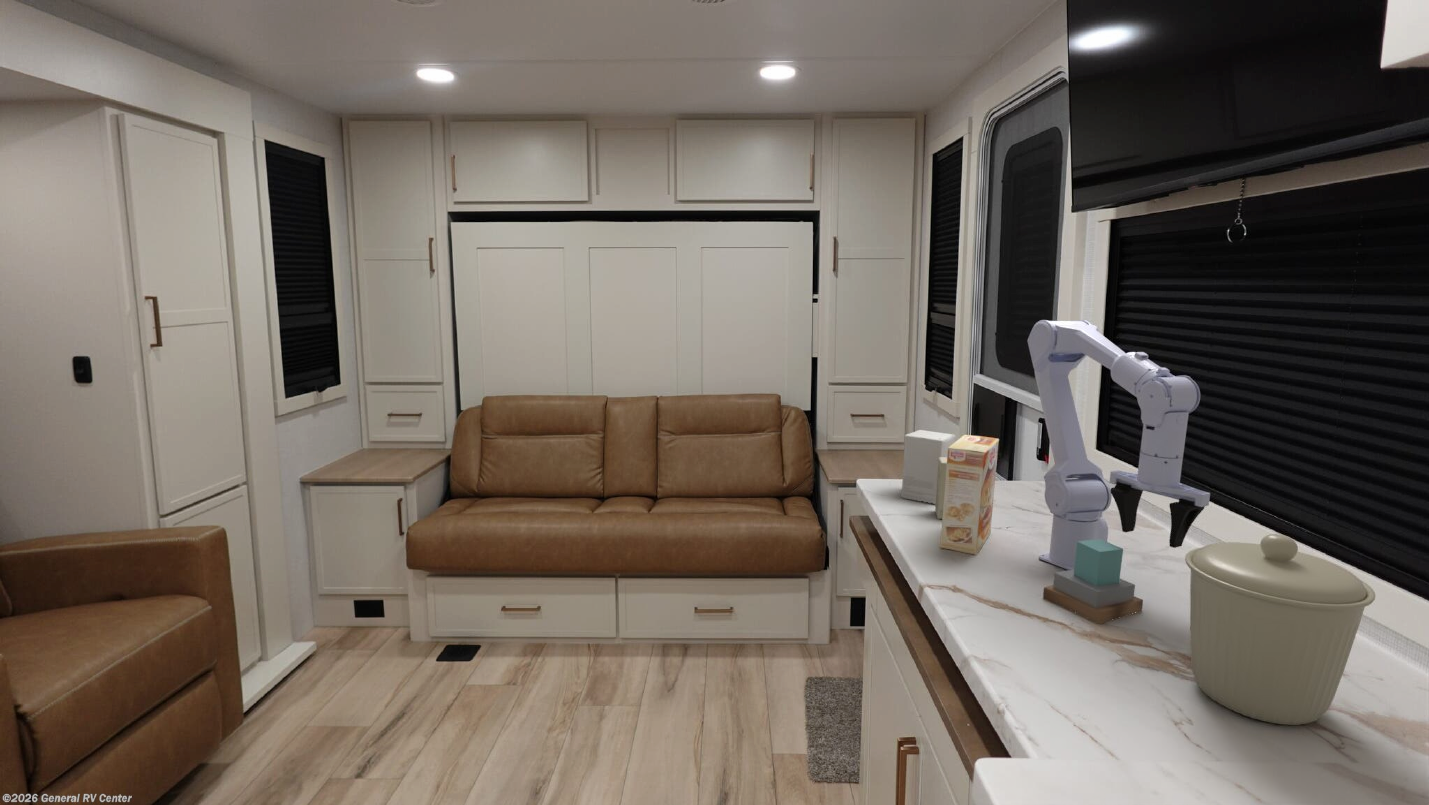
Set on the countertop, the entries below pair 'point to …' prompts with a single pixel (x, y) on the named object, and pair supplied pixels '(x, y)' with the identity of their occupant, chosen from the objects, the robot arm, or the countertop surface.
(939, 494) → the skincare box
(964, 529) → the coffeecake box
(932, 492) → the supplement box
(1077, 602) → the walnut slab
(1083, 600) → the gray square slab
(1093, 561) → the teal block
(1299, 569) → the canister
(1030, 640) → the countertop surface
